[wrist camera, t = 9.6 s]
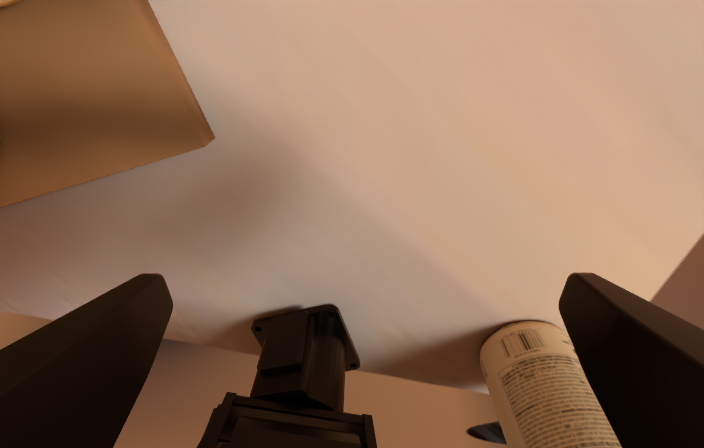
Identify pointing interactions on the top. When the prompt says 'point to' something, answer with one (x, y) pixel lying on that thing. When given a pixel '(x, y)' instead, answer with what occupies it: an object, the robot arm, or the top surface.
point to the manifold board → (88, 94)
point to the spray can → (542, 389)
